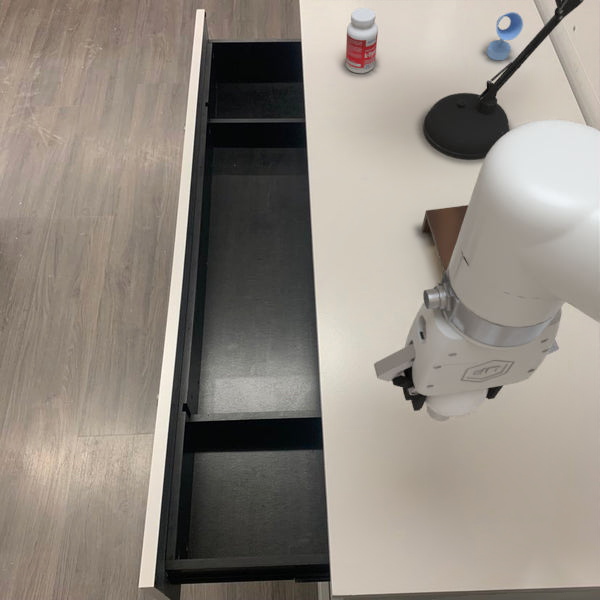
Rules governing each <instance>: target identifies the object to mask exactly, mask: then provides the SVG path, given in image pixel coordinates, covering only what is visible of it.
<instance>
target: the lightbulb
mask: <svg viewBox="0 0 600 600" xmlns="http://www.w3.org/2000/svg"><path fill="white" fill-rule="evenodd" d="M487 393H488V388H485V389H479V390H472V391H466V392H459V393H452V394H445V395H437V396H427V397H426V400H425V402H424V404H426V413H427V414H428V416H429V417H430V418H431V419H433V420H434V421H436V422H445V421H447V420H449V419H450V418H463V417H466V416H469V415H471V414H474V412H476V411H478V409H479V408H481V407H482V406H483V404H484V402H485V400H486V399H487V398H486V396H487Z"/></svg>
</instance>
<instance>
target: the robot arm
mask: <svg viewBox="0 0 600 600" xmlns="http://www.w3.org/2000/svg"><path fill="white" fill-rule="evenodd" d="M469 199H470V200H469V202H468V204H467V205H468V208H467V211H466V214H465V217H464V220H463V223H462V226H461V229H460V233H459V236H458V239H457V242H456V245H455V248H454V251H453V254H452V257H451V260H450V263H449V266H448V269H447V270H445V272H444V271H443V275H442V279H441V280H440V281H441V282H439V283H438V285H436V286H433V288H429V289H424V290H423V292H422V293H423V294H422V295H423V296H422V297H423V302H422V304H421V306H420V308H419V309H418V311H417V312H416V315H415V317H414V319H413V321H412V323H411V326H410V327H409V331H408V334H407V337H406V341H405V344H404V347H402V348H401V349H399V350H397V351H395V352H393V353H391V354H389V355H387V356H386V357H384V358H382V359H380V360H377V361H376V362H374V364H373V366H374V370H375V376H376V378H377V379H378V380H382V381H385V382H392V385H393V386H394V387H395V386H396V387H400V388H402V393H403V396H404V399H405V401H411V405H412V409H413V411H414V412H418V411H421V409H423V407H424V404H425V400H426V397H427V396H437V395H445V394H452V393H459V392H466V391H472V390H479V389H485V388H488V393H487V396H486V398H485V399H487V400H492V399H493V400H494V399H495V398H496V397H497V395H499V393H500V391H501V390H502V389H503V387H504V386H508V385H513V384H517V383H521V382H524V381H526V380H528V379H529V378H530V377H532V376H533V375H534V374H535V372H536V371H537V370H538V368H539V367H540V366H541V365H542V364H543V362H544V360H545V359H546V357H547V356H548V355H550V354H553V353H554V352H556V351H559V349H560V347H559V345H558V343H557V341H556V338H557V336H558V332H559V328H560V323H561V319H562V312H563V311H562V308H563V306H564V305H565V304H568V305H570V306H572V307H573V308H575V309H576V310H578V311H580V312H581V313H583V314H585V315H586V316H588V317H589V318H591V319H592V320H593V321H595V322H597V323H599V324H600V130H598V129H596V128H595V127H592V126H589V125H587V124H584V123H581V122H576V121H572V120H565V119H564V120H563V119H542V120H534V121H530V122H526V123H524V124H520V125H518V126H517V127H515V128H513V129H511V130H509V132H507V133H506V134H505V135H503V136H502V137H501V138H500V139H499V140H498V141H497V142H496V143H495V144H494V145H493V147H492V148H491V149H490V151H489V152H488V153H487V155H486V157H485V158H484V160H483V162H482V165H481V166H480V169H479V172H478V176H477V178H476V180H475V184H474V187H473V190H472V193H471V197H470V198H469Z"/></svg>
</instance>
